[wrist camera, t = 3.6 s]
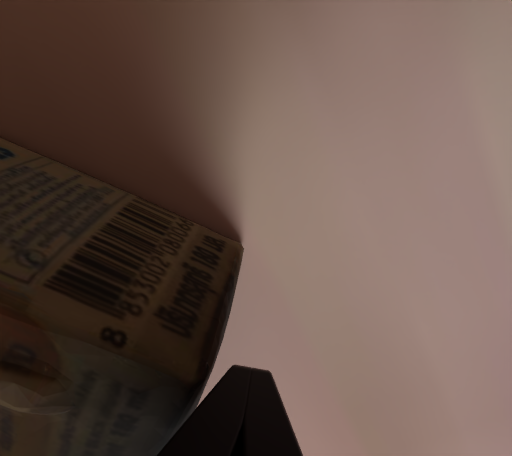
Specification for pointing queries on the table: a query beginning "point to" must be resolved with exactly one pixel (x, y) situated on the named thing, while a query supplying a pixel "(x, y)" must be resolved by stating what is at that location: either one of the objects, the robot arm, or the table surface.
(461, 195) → the table surface
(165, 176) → the table surface
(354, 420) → the table surface
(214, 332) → the beverage carton
